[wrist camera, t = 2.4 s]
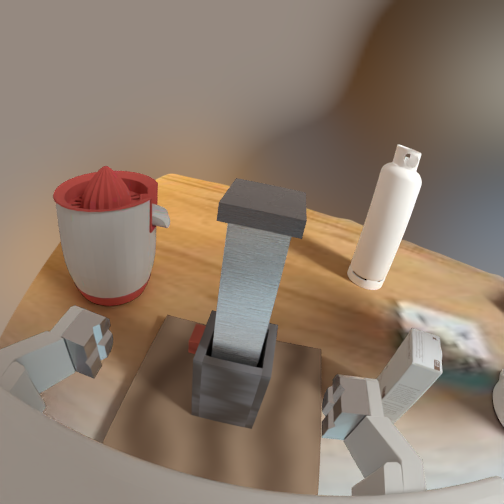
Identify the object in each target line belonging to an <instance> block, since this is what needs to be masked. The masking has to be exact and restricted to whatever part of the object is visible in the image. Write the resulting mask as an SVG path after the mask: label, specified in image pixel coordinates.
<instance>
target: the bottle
mask: <svg viewBox="0 0 504 504" xmlns="http://www.w3.org/2000/svg"><path fill="white" fill-rule="evenodd" d="M406 154H410V159H409V158H407V157H406V158H405V161H404V157H405V155H406ZM420 157H421V153H420V152H417V151H415V150H413V149H410V148H408V147H404V146H401V145H397V149H396V152H395V156H394V160H393V162H392V163H388V164H385V165H384V166H383V167H382V169H381V172H380V176H379V179H378V183H377V186H376V189H375V192H374V196H373V199H372V202H371V205H370V208H369V211H368V214H367V218H366V220H365V223H364V226H363V229H362V232H361V235H360V238H359V241H358V244H357V247H356V250H355V252H354V255H353V258H352V261H351V264H350V266H349V269H348V271H347V275H348V277H349V279H350V280H351V281H352V282H353V283H355V284H356V285H358V286H360V287H362V288H365V289H369V290H376V289H379V288H381V287H382V284H383V282H384V280H385V277H386V275H387V273H388V271H389V269H390V266H391V264H392V262H393V259H394V257H395V254H396V252H397V249H398V247H399V245H400V242H401V240H402V237H403V234H404V232H405V229H406V227H407V224H408V221H409V218H410V216H411V213H412V210H413V208H414V205H415V202H416V199H417V196H418V193H419V190H420V187H421V184H422V183H421V178H420V176H419V174H418V173H417V172H416V170H417V167H418V164H419V160H420ZM353 271H354V272H355V273H356V274H358V275H359V276H361V277H362V278H365V279H367V280H364V279H361V278H360V277H358V276H357V275H356V274H355V273H354V272H353ZM377 281H380V282H377Z"/></svg>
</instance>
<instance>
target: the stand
mask: <svg viewBox="0 0 504 504" xmlns="http://www.w3.org/2000/svg"><path fill="white" fill-rule="evenodd" d="M216 312H217V311H213V310H212V312H211V314H210V317H209V320H208V322H207V325H204V324H200V323H196V322H193V321H189V320H185V319H181V318H177V317H174V316H170V315H167V317H166V319H165V320H164V322H163V324H162V326H161V328H160V330H159V332H158V334H157V335H156V337H155V339H154V341H153V343H152V345H151V347H150V349H149V351H148V352H147V354H146V356H145V358H144V360H143V362H142V364H141V366H140V368H139V370H138V372H137V374H136V376H135V378H134V380H133V382H132V383H131V385H130V387H129V389H128V391H127V393H126V395H125V397H124V399H123V401H122V403H121V405H120V407H119V410H118V412H117V414H116V416H115V418H114V420H113V422H112V424H111V426H110V428H109V430H108V432H107V434H106V436H105V438H104V441H103V443H102V444H104V445H107V446H109V447H111V448H114V449H116V450H119V451H121V452H124V453H126V454H129V455H131V456H134V457H137V458H139V459H142V460H145V461H148V462H151V463H154V464H157V465H160V466H163V467H166V468H169V469H172V470H176V471H179V472H183V473H186V474H190V475H193V476H197V477H201V478H205V479H209V480H214V481H218V482H223V483H228V484H233V485H238V486H243V487H249V488H255V489H262V490H269V491H276V492H285V493H295V494H307V495H318V485H319V466H320V442H321V349H318V348H312V347H307V346H301V345H296V344H291V343H286V342H280V341H276V337H277V329H278V325H276V324H271V323H269V324H268V328H267V331H266V335H265V339H264V342H263V346H262V349H261V353H260V357H259V360H258V364H257V367H253V366H248V365H244V364H239V363H235V362H230V361H226V360H222V359H218V358H214V357H211V355H212V346H213V338H214V329H215V320H216Z"/></svg>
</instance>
